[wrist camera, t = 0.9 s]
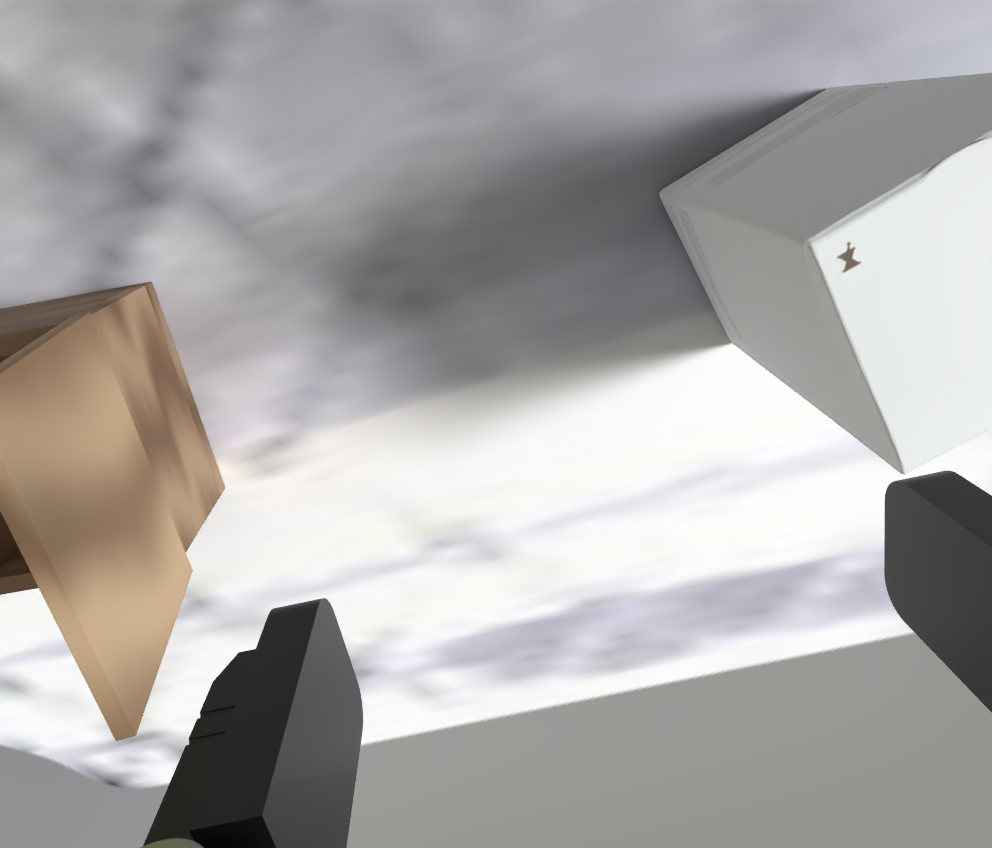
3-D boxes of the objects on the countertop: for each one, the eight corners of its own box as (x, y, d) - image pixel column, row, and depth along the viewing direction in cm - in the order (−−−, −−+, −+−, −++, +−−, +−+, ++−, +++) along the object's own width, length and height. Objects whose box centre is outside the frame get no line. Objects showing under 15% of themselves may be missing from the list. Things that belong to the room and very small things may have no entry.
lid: (-71, 403, 18) (-31, 394, 18) (66, 315, 27) (92, 310, 27) (104, 744, 23) (135, 735, 23) (171, 571, 32) (194, 566, 32)
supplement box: (729, 349, 37) (897, 488, 23) (653, 190, 33) (795, 241, 20) (898, 255, 35) (1185, 342, 22) (836, 80, 32) (1126, 51, 18)
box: (-38, 315, 34) (-153, 362, 27) (151, 281, 34) (81, 320, 27) (57, 517, 38) (-23, 598, 32) (225, 488, 38) (179, 563, 32)
